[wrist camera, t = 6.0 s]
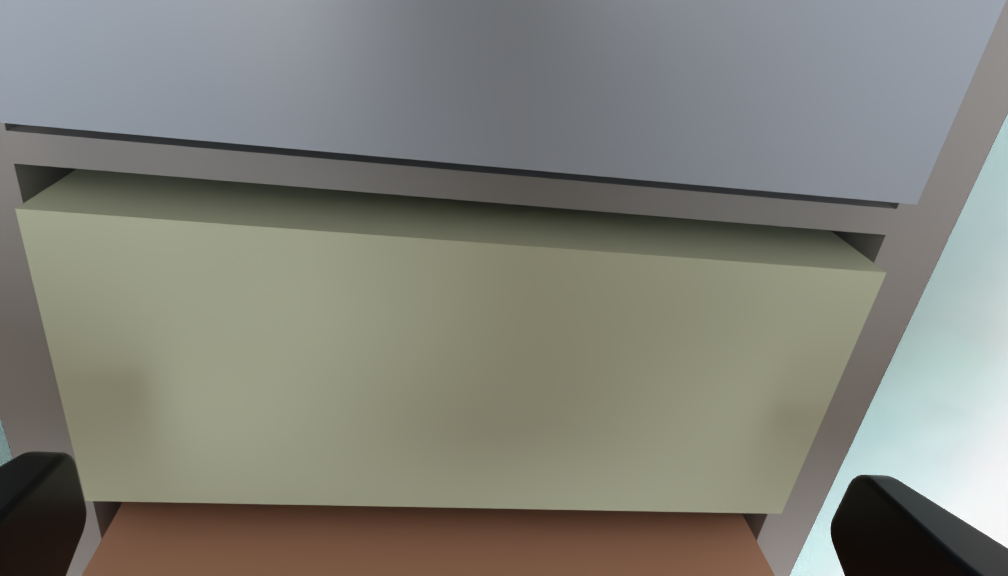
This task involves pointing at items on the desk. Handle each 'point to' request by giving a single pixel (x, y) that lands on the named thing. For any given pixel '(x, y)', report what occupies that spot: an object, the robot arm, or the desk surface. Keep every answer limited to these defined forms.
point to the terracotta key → (420, 542)
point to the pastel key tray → (861, 223)
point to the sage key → (433, 347)
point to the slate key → (522, 82)
